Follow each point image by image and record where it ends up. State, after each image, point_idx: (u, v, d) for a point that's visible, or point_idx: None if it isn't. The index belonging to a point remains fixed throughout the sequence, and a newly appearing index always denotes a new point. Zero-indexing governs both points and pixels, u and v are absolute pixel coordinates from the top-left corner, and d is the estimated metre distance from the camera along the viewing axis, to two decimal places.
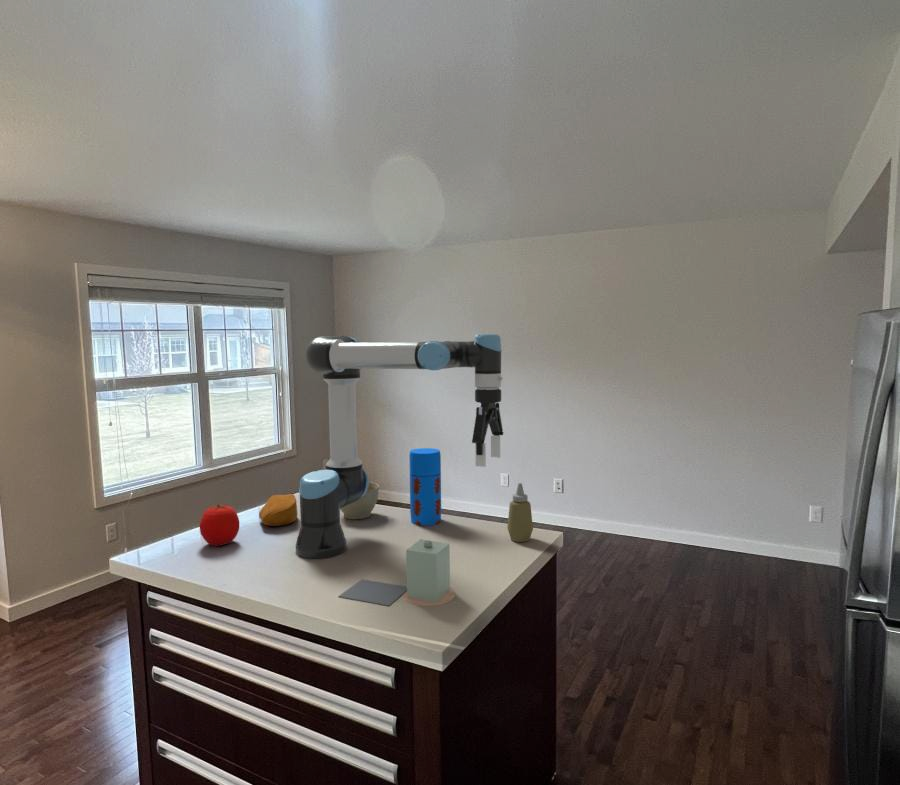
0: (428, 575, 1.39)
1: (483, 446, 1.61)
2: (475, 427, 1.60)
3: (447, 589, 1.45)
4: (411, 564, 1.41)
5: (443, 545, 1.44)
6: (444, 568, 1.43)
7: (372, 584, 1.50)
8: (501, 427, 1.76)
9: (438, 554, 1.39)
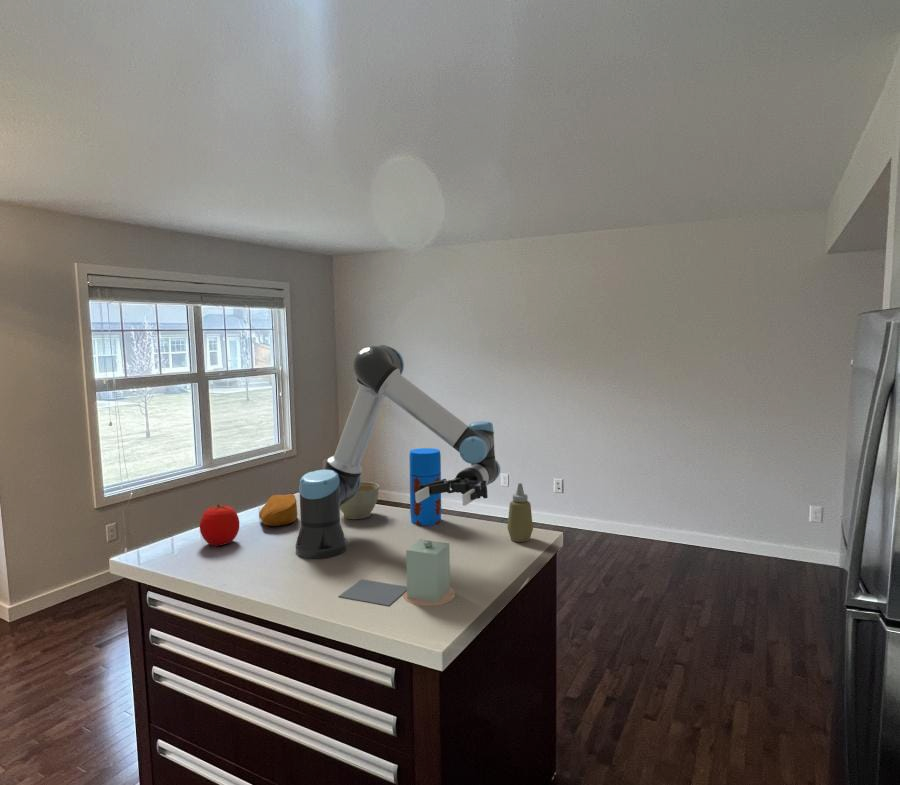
0: (428, 575, 1.39)
1: None
2: (486, 486, 1.57)
3: (447, 589, 1.45)
4: (411, 564, 1.41)
5: (443, 545, 1.44)
6: (444, 568, 1.43)
7: (372, 584, 1.50)
8: None
9: (438, 554, 1.39)
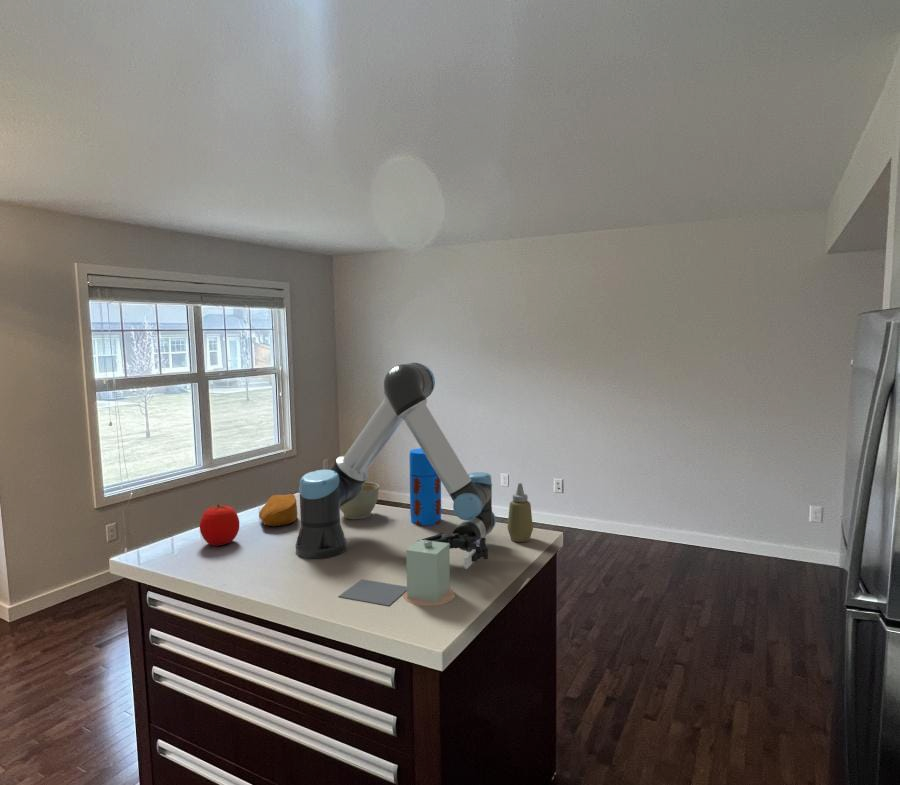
0: (428, 575, 1.39)
1: None
2: None
3: (447, 589, 1.45)
4: (411, 564, 1.41)
5: (443, 545, 1.44)
6: (444, 568, 1.43)
7: (372, 584, 1.50)
8: None
9: (438, 554, 1.39)
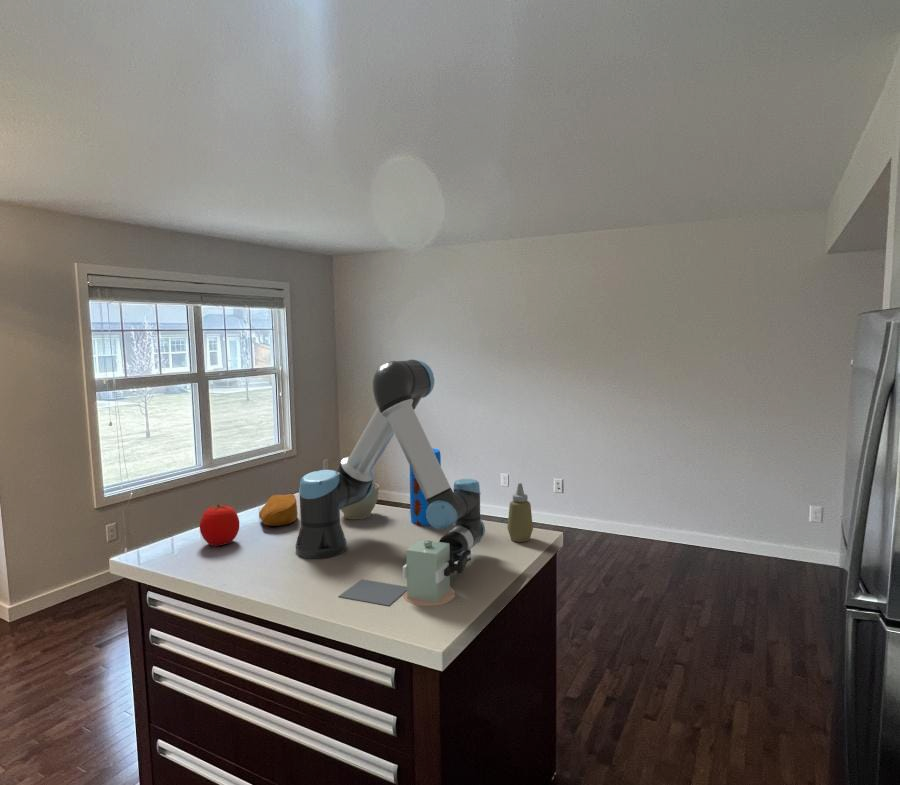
0: (428, 575, 1.39)
1: None
2: (464, 559, 1.47)
3: (447, 589, 1.45)
4: (411, 564, 1.41)
5: (443, 545, 1.44)
6: None
7: (372, 584, 1.50)
8: None
9: (438, 554, 1.39)
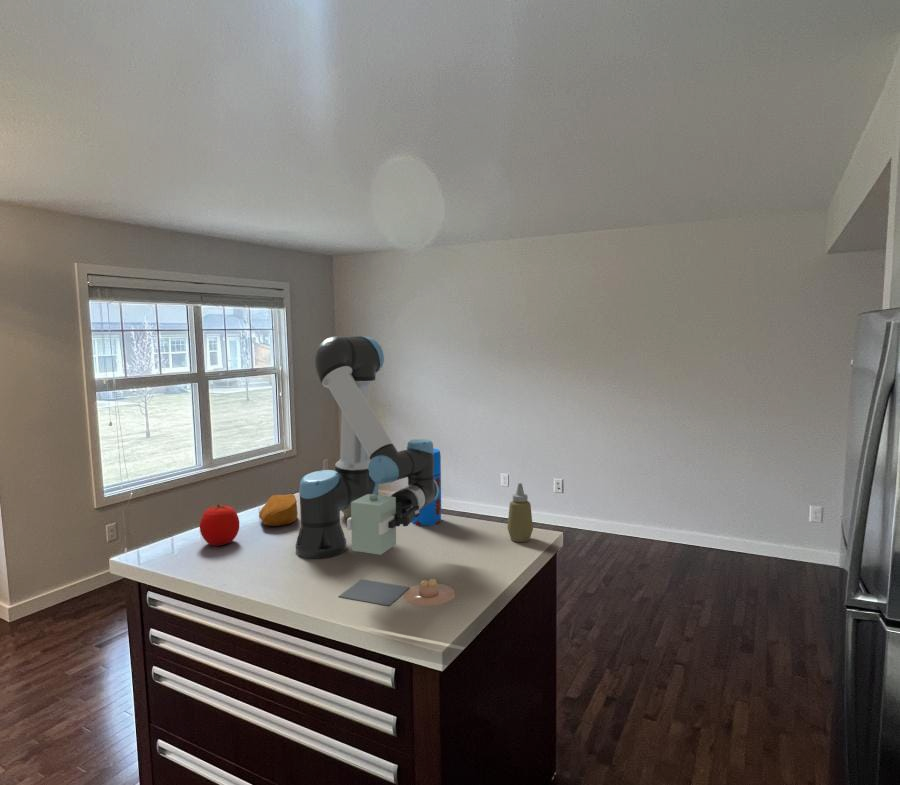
0: (372, 526, 1.39)
1: None
2: (411, 513, 1.47)
3: (393, 542, 1.45)
4: (356, 516, 1.41)
5: (389, 498, 1.44)
6: None
7: (372, 584, 1.50)
8: None
9: (382, 506, 1.39)
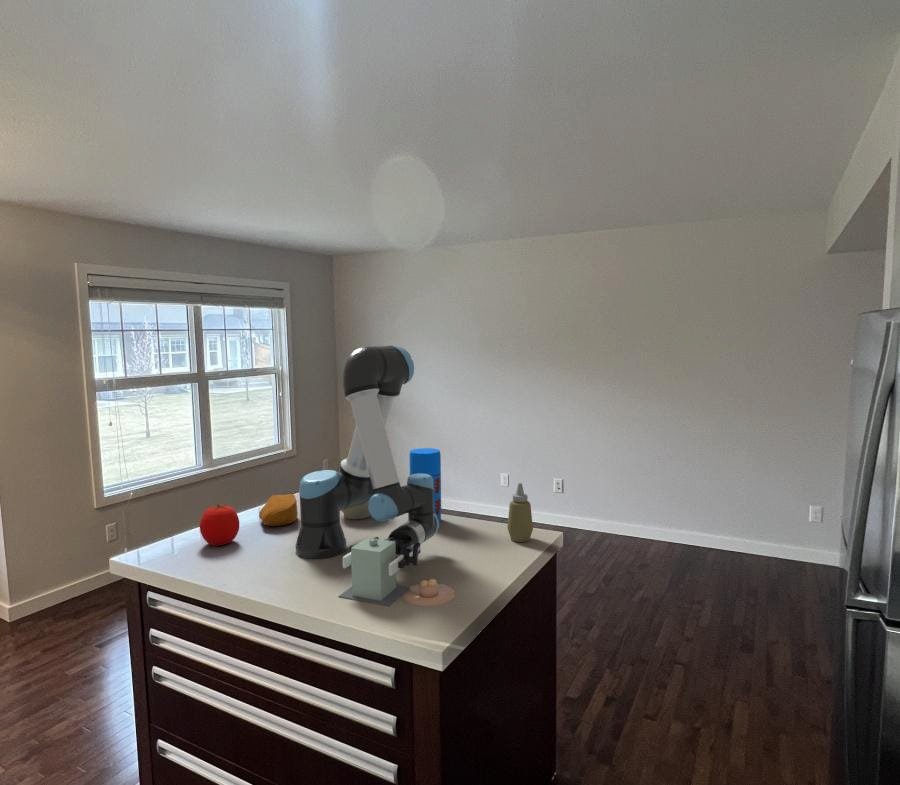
0: (372, 573, 1.40)
1: None
2: (417, 551, 1.48)
3: (393, 587, 1.46)
4: (356, 562, 1.42)
5: (389, 543, 1.45)
6: None
7: None
8: None
9: (382, 552, 1.40)
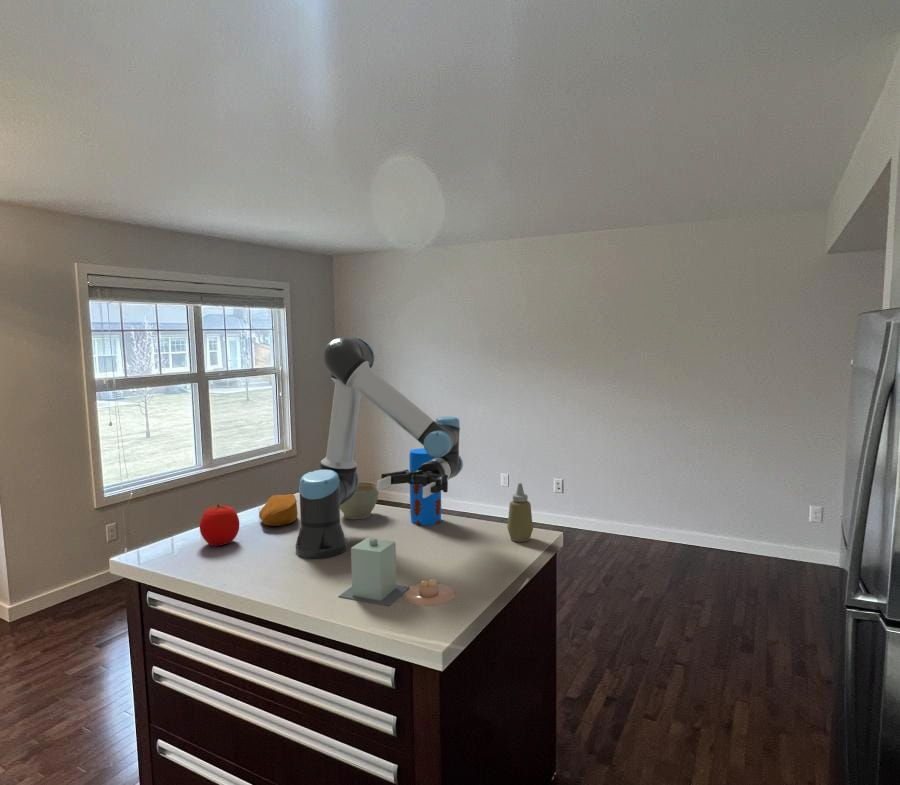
0: (372, 573, 1.40)
1: None
2: (447, 481, 1.61)
3: (393, 587, 1.46)
4: (356, 562, 1.42)
5: (389, 543, 1.45)
6: (389, 566, 1.44)
7: None
8: None
9: (382, 552, 1.40)
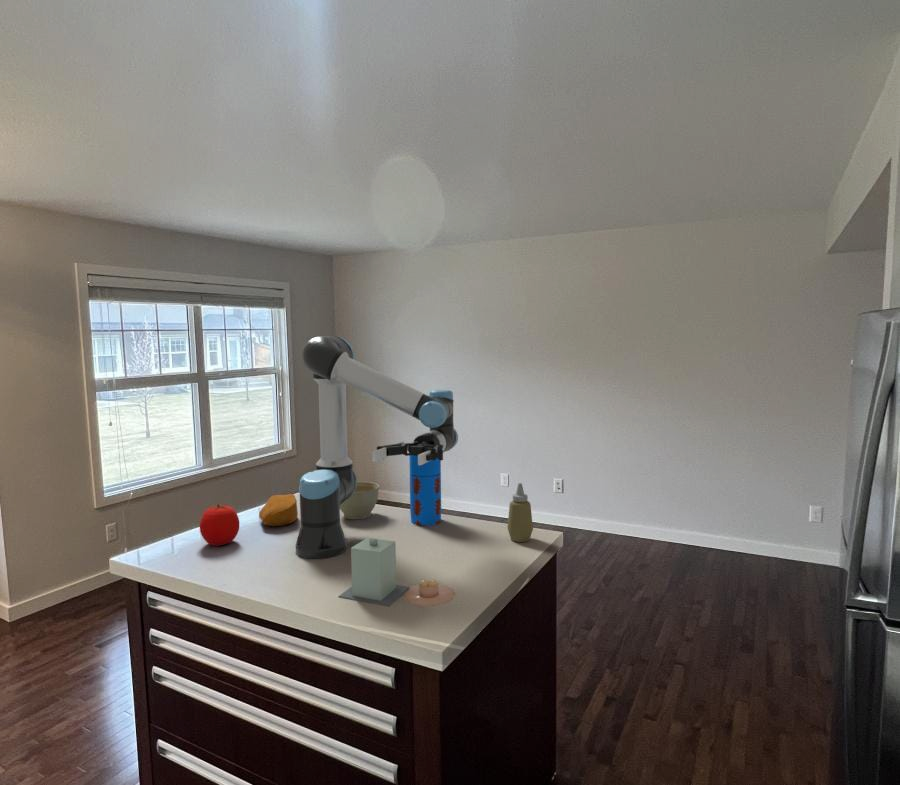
0: (372, 573, 1.40)
1: None
2: None
3: (393, 587, 1.46)
4: (356, 562, 1.42)
5: (389, 543, 1.45)
6: (389, 566, 1.44)
7: None
8: None
9: (382, 552, 1.40)
